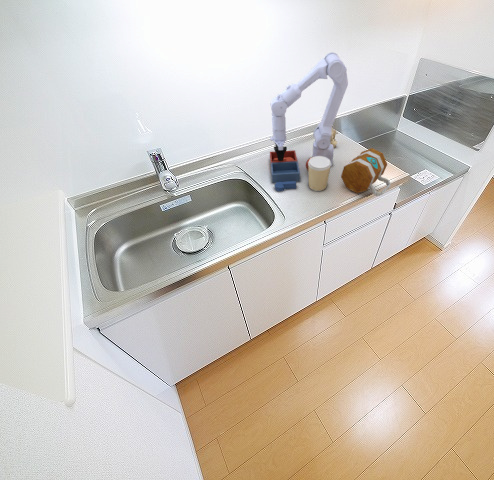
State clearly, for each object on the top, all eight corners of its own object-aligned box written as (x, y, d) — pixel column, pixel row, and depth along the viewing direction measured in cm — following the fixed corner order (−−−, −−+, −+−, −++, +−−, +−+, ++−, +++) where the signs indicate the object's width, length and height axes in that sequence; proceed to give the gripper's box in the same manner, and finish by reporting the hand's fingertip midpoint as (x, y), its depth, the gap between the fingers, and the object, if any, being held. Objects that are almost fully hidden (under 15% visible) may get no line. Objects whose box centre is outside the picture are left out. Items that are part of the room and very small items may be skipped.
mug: (353, 155, 106) (371, 141, 114) (335, 176, 118) (352, 161, 126) (388, 192, 106) (404, 175, 114) (366, 209, 117) (382, 192, 125)
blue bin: (271, 171, 128) (270, 162, 124) (297, 169, 128) (297, 161, 125) (272, 183, 122) (272, 174, 118) (299, 181, 122) (300, 172, 119)
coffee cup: (331, 182, 122) (334, 158, 113) (323, 194, 116) (326, 170, 107) (311, 177, 124) (313, 153, 115) (303, 188, 119) (304, 164, 110)
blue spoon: (295, 184, 121) (295, 179, 119) (296, 190, 118) (296, 185, 116) (274, 185, 120) (274, 180, 118) (275, 192, 117) (275, 186, 115)
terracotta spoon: (274, 166, 129) (274, 161, 127) (273, 161, 132) (273, 156, 130) (293, 165, 130) (293, 160, 128) (292, 160, 133) (292, 155, 131)
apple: (317, 179, 123) (318, 164, 117) (302, 174, 126) (302, 158, 120) (325, 170, 128) (327, 155, 122) (310, 165, 131) (311, 150, 125)
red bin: (270, 160, 134) (269, 151, 131) (295, 158, 135) (295, 150, 131) (271, 170, 128) (270, 162, 125) (297, 169, 129) (297, 160, 125)
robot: (337, 141, 145) (341, 113, 134) (336, 149, 140) (340, 120, 129) (317, 139, 147) (320, 111, 136) (315, 147, 141) (318, 118, 130)
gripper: (268, 120, 122) (270, 148, 132) (270, 136, 113) (272, 165, 123) (284, 120, 123) (285, 147, 133) (287, 135, 113) (288, 164, 123)
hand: (280, 156), depth 128 cm, fingers open, 7 cm apart
